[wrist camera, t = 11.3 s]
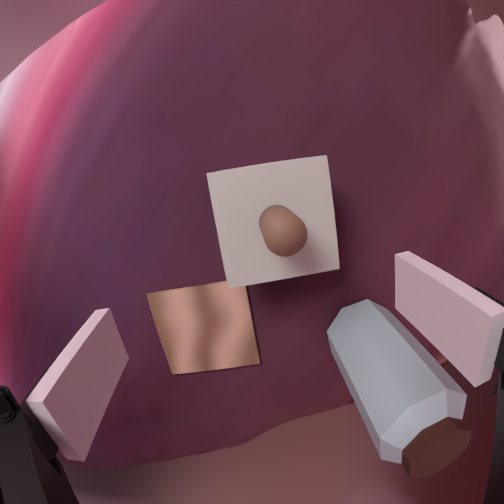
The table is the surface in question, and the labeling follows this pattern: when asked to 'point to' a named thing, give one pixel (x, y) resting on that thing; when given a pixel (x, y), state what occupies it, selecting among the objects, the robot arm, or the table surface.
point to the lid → (275, 220)
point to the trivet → (205, 327)
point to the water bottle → (399, 390)
